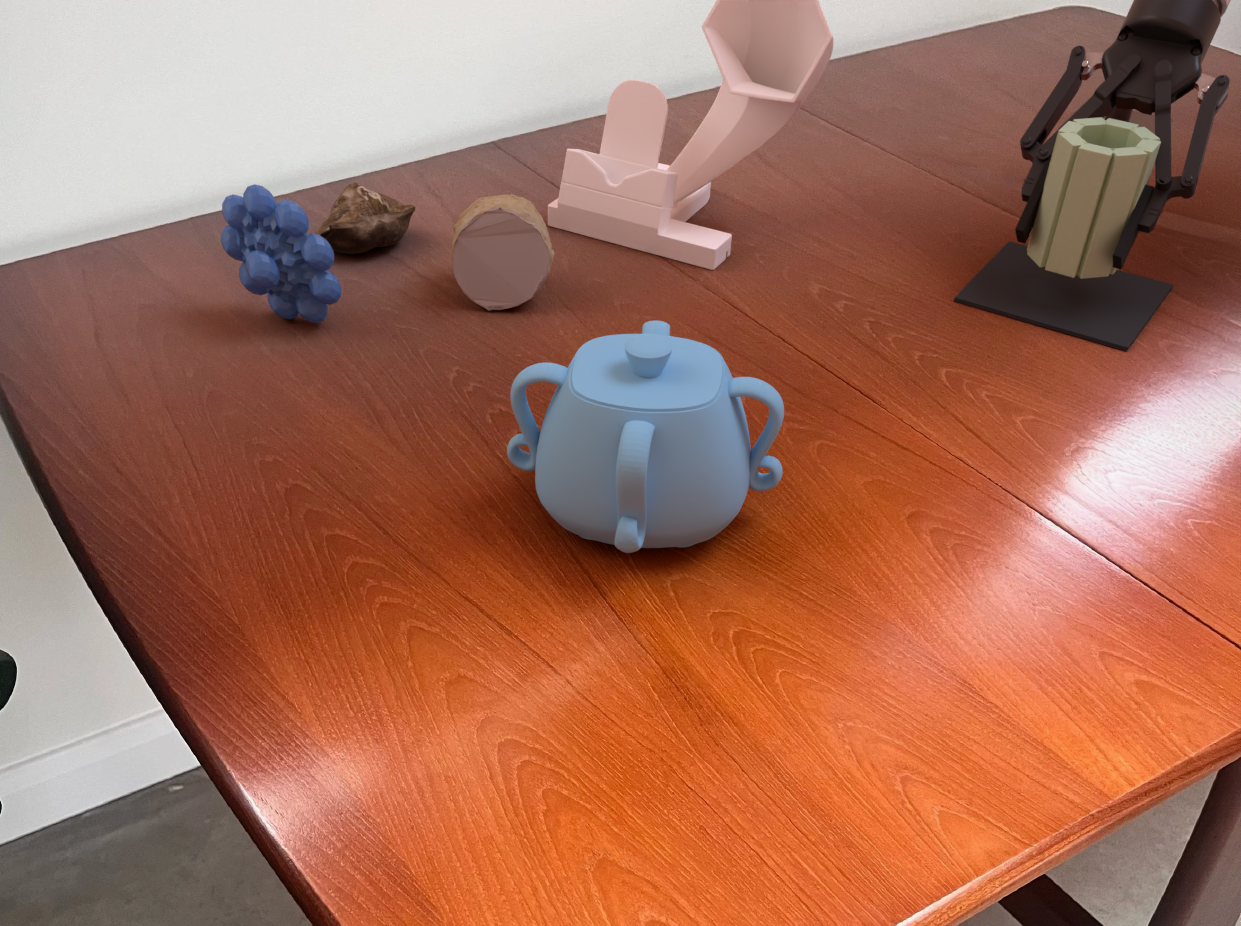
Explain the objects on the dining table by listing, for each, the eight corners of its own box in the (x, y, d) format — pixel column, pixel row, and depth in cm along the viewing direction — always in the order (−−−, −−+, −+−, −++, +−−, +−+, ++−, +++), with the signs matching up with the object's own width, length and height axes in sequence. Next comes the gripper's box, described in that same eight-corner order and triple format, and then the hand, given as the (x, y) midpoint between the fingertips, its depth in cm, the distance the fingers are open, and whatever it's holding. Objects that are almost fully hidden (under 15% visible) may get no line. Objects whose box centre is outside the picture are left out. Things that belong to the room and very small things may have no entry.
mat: (1172, 288, 120) (1173, 284, 120) (1126, 351, 111) (1128, 347, 111) (1008, 244, 126) (1009, 240, 126) (953, 301, 118) (954, 297, 118)
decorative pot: (602, 605, 87) (606, 437, 78) (493, 483, 97) (485, 321, 88) (794, 531, 93) (819, 367, 84) (673, 424, 103) (683, 266, 94)
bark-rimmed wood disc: (430, 252, 110) (446, 163, 113) (455, 327, 119) (470, 242, 123) (539, 252, 108) (552, 161, 112) (556, 328, 117) (568, 241, 121)
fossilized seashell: (319, 249, 120) (424, 252, 123) (315, 174, 118) (422, 179, 122) (308, 258, 127) (408, 261, 130) (304, 188, 125) (405, 192, 129)
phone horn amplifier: (547, 225, 129) (543, -48, 112) (622, 171, 139) (629, -88, 122) (773, 286, 120) (808, -1, 103) (837, 224, 130) (878, -48, 112)
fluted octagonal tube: (1131, 252, 117) (1170, 131, 110) (1103, 286, 112) (1142, 162, 105) (1046, 229, 120) (1078, 110, 113) (1015, 262, 116) (1047, 140, 108)
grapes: (207, 326, 114) (179, 195, 106) (251, 293, 119) (227, 165, 110) (318, 354, 111) (298, 221, 102) (359, 319, 115) (342, 189, 107)
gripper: (1060, -42, 112) (951, 201, 114) (1311, 2, 104) (1190, 264, 105) (1064, 7, 119) (961, 236, 121) (1300, 52, 111) (1186, 297, 112)
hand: (1068, 249), depth 113 cm, fingers closed on fluted octagonal tube, 8 cm apart
